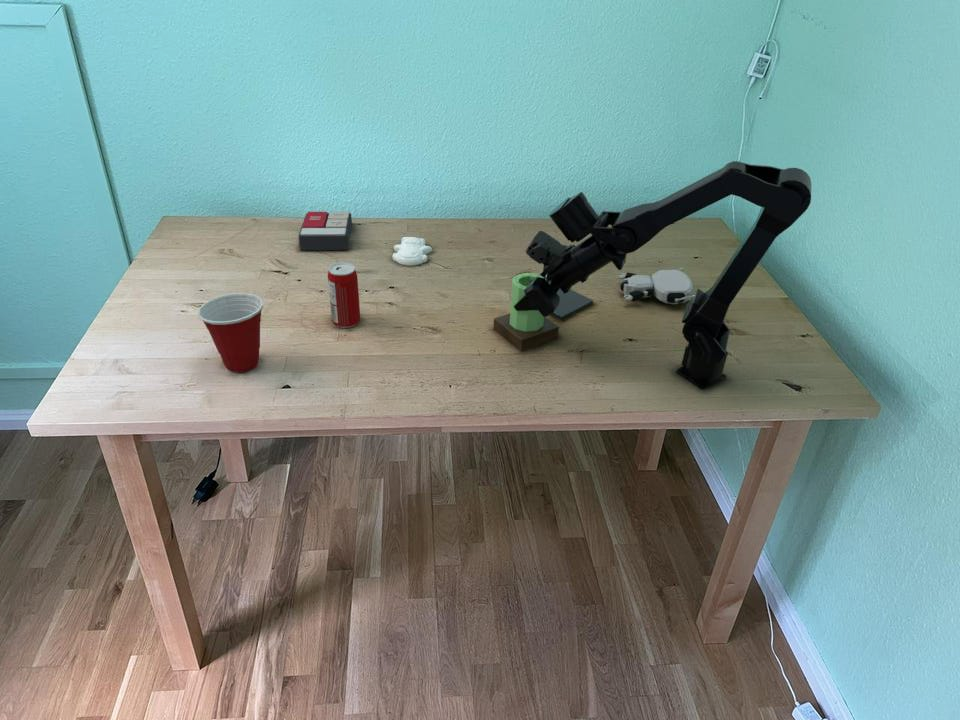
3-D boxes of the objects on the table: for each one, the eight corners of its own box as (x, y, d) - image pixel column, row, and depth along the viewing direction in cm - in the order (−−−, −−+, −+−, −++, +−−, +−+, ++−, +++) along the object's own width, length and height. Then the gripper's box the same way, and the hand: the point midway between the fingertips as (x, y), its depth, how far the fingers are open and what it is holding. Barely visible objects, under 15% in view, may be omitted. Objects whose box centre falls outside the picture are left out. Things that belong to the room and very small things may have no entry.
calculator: (351, 209, 174) (346, 232, 162) (352, 226, 177) (347, 250, 164) (305, 209, 173) (297, 233, 161) (307, 226, 176) (299, 250, 163)
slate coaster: (592, 304, 148) (593, 300, 147) (561, 321, 142) (561, 316, 141) (556, 286, 154) (557, 282, 153) (525, 301, 148) (525, 297, 147)
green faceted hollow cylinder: (515, 311, 140) (518, 270, 135) (547, 318, 138) (552, 277, 133) (504, 326, 135) (507, 285, 130) (537, 334, 133) (541, 292, 128)
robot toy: (622, 312, 147) (695, 312, 146) (624, 293, 144) (698, 292, 144) (615, 284, 157) (684, 283, 156) (617, 266, 155) (687, 265, 154)
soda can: (366, 320, 140) (362, 265, 133) (347, 332, 136) (342, 276, 129) (345, 311, 142) (341, 257, 135) (326, 322, 138) (320, 268, 131)
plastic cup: (248, 339, 133) (238, 283, 126) (285, 361, 127) (276, 304, 120) (197, 364, 126) (183, 306, 119) (233, 389, 120) (221, 329, 113)
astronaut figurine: (435, 244, 168) (435, 233, 167) (424, 267, 159) (423, 255, 157) (399, 241, 169) (399, 229, 168) (386, 263, 160) (385, 251, 158)
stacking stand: (558, 337, 137) (561, 306, 133) (521, 351, 133) (523, 319, 129) (529, 316, 143) (532, 286, 139) (493, 329, 139) (494, 298, 135)
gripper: (571, 204, 130) (511, 247, 140) (540, 244, 116) (475, 289, 125) (607, 251, 132) (545, 290, 142) (581, 296, 118) (514, 336, 128)
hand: (521, 300), depth 134 cm, fingers closed on green faceted hollow cylinder, 6 cm apart
